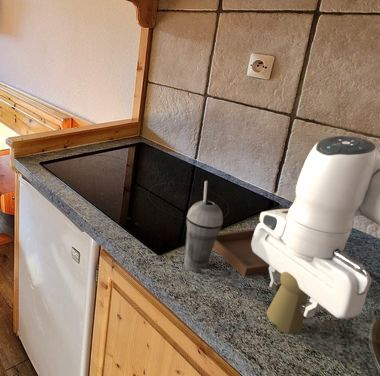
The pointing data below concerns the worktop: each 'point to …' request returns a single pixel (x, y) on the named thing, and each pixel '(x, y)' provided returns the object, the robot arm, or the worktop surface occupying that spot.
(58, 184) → the worktop surface
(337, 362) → the worktop surface
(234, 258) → the spice tray
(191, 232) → the beverage cup
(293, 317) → the cork
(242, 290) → the worktop surface
